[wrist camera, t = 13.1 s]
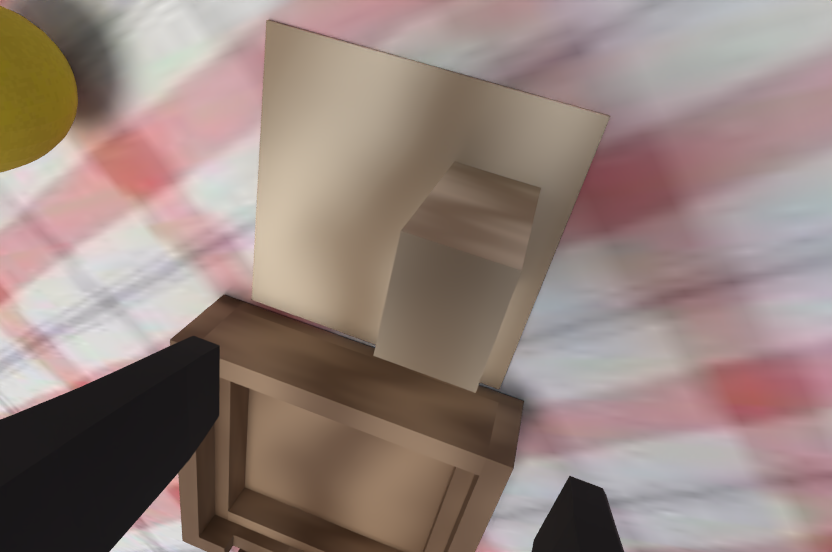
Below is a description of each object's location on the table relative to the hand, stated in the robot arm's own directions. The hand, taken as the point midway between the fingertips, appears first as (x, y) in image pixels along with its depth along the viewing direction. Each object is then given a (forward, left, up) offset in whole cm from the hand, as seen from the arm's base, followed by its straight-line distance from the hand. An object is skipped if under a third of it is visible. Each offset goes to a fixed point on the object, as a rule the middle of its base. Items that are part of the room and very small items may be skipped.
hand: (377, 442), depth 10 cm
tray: (+3, +15, -10) cm, 19 cm away
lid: (+3, 0, -11) cm, 11 cm away
